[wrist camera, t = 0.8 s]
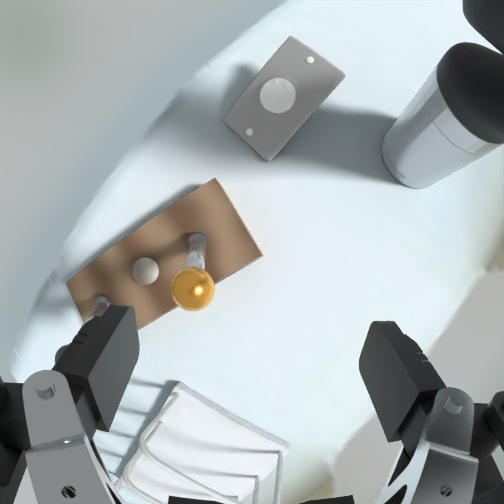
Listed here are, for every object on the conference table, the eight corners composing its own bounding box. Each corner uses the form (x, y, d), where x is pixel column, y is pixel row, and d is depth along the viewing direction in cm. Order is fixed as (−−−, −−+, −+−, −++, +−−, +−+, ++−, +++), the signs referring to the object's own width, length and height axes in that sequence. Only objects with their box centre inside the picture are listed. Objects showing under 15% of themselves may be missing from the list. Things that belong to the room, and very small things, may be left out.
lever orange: (202, 219, 33) (197, 268, 20) (218, 243, 34) (224, 305, 21) (178, 235, 33) (158, 292, 20) (194, 258, 34) (186, 326, 21)
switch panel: (220, 183, 38) (210, 171, 32) (263, 255, 37) (260, 254, 31) (81, 279, 39) (59, 280, 34) (114, 344, 38) (94, 353, 33)
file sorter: (179, 379, 37) (127, 435, 22) (291, 441, 35) (292, 519, 20) (121, 476, 38) (77, 527, 22) (208, 525, 36) (187, 585, 20)
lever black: (106, 283, 33) (62, 353, 20) (123, 303, 35) (88, 379, 22) (89, 295, 34) (43, 365, 21) (105, 315, 35) (68, 390, 22)
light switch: (217, 119, 36) (287, 32, 29) (239, 122, 41) (302, 46, 34) (264, 162, 35) (343, 71, 28) (281, 161, 40) (350, 83, 33)
